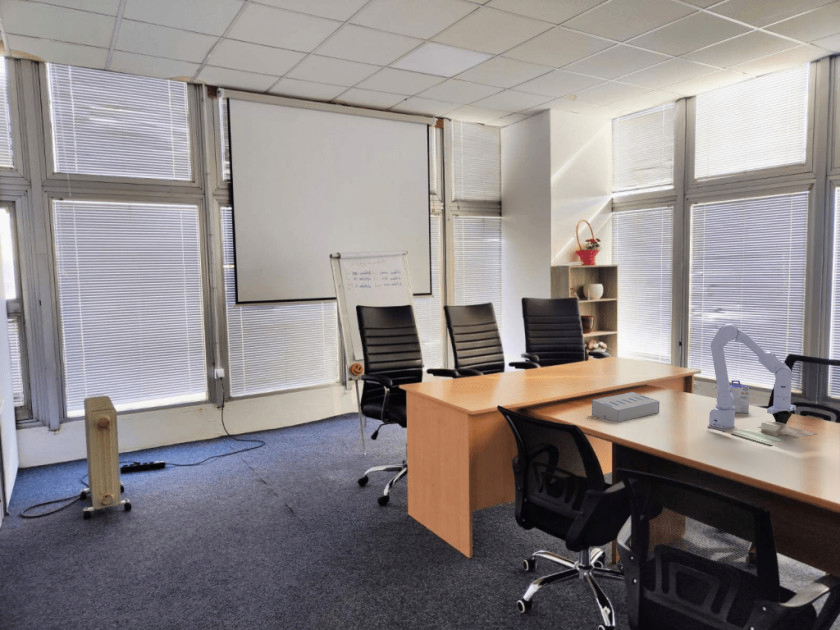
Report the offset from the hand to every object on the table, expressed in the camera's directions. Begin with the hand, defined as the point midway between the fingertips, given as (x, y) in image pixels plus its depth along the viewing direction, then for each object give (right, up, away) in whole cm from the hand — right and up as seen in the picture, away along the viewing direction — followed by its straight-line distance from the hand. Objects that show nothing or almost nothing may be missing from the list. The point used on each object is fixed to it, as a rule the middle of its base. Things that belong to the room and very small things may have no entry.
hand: (780, 429), depth 224 cm
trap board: (-4, -3, -1) cm, 4 cm away
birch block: (-4, -1, -2) cm, 5 cm away
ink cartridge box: (+4, 0, +38) cm, 39 cm away
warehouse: (-49, -1, +35) cm, 61 cm away
